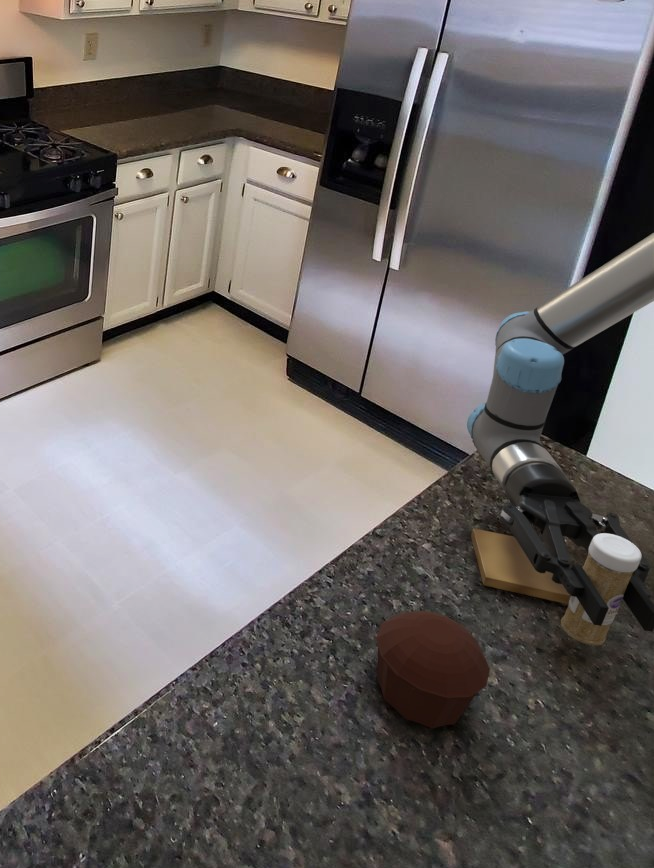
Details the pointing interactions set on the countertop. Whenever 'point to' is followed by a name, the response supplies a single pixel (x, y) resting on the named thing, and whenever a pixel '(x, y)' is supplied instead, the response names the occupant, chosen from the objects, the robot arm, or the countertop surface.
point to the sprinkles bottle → (602, 585)
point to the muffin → (429, 667)
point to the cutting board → (512, 568)
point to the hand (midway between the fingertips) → (626, 619)
